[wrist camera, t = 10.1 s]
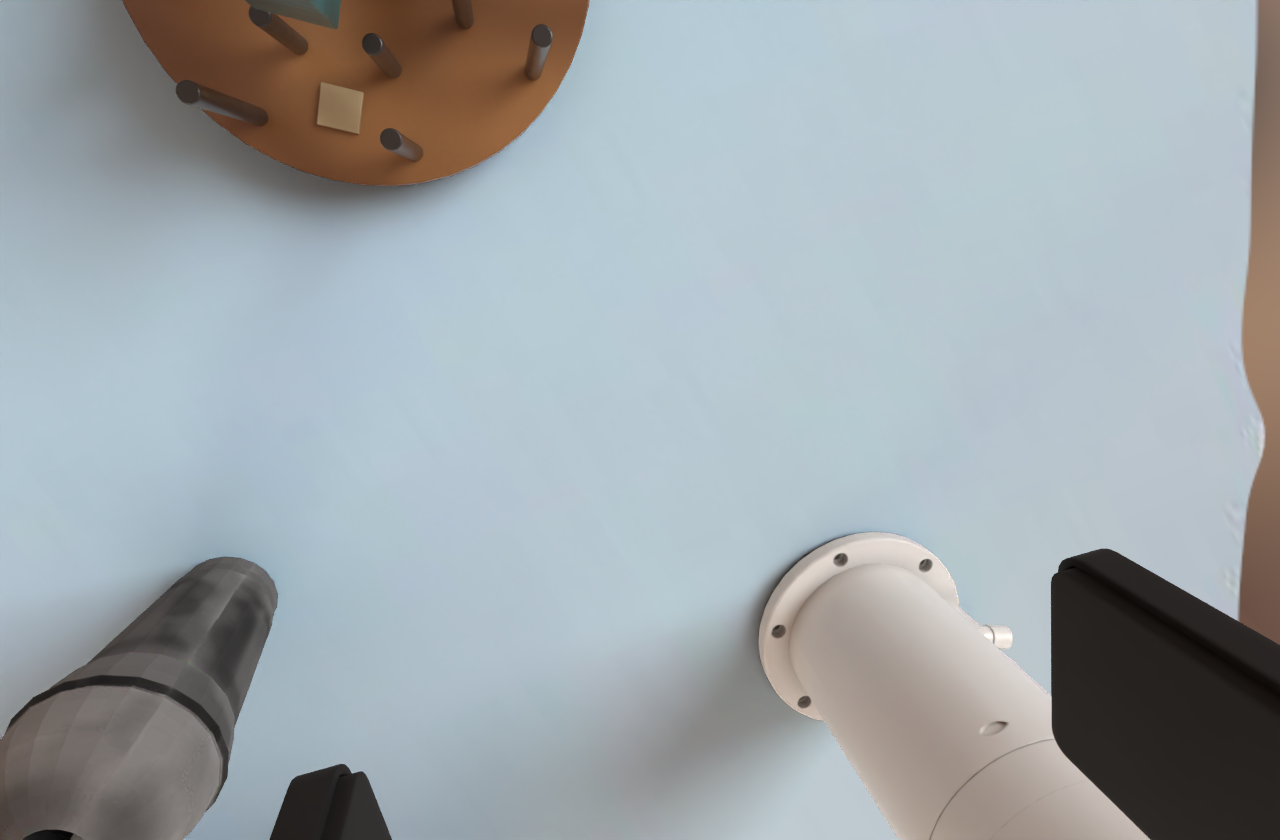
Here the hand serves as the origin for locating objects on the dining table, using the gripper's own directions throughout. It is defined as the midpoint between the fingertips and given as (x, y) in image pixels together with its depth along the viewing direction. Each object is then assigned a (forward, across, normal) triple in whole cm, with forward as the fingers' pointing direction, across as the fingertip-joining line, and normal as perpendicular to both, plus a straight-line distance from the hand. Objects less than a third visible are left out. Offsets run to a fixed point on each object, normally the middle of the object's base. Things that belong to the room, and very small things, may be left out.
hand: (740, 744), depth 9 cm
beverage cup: (+28, +19, +9) cm, 36 cm away
